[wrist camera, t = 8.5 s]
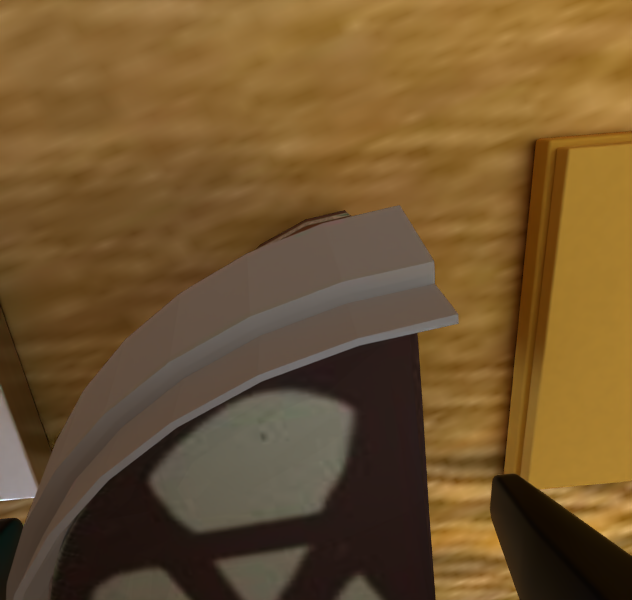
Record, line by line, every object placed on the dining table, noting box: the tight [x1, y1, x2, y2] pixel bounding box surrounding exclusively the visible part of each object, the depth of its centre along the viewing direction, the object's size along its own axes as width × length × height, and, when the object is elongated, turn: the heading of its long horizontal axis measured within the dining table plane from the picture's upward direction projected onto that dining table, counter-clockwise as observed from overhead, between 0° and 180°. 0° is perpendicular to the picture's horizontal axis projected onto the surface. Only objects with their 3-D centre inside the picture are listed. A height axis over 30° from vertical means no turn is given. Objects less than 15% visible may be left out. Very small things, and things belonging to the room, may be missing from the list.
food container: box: [6, 205, 459, 600], centre depth 10 cm, size 12×6×10 cm, turn 8°
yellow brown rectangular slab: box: [504, 131, 632, 489], centre depth 14 cm, size 12×5×1 cm, turn 4°
